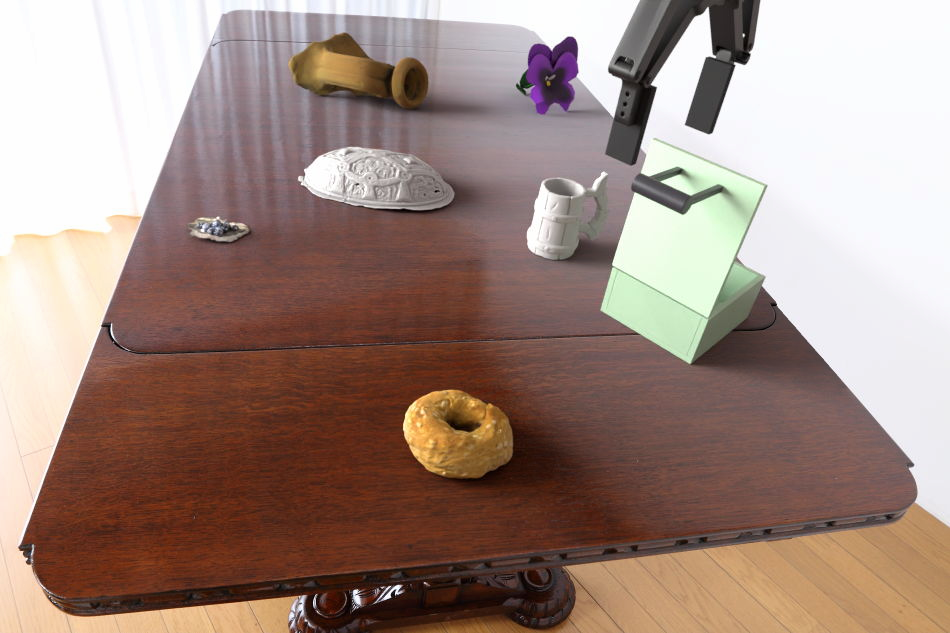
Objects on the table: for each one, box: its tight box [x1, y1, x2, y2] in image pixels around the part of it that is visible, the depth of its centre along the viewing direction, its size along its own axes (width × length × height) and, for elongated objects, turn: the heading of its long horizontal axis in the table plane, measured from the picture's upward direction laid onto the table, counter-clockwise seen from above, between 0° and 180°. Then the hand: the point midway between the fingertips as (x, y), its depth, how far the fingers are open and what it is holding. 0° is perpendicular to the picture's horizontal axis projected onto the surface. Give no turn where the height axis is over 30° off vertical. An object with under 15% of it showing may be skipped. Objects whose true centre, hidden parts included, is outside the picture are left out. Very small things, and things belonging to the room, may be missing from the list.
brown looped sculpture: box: [288, 31, 429, 110], centre depth 137 cm, size 18×13×22 cm
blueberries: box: [187, 216, 251, 243], centre depth 93 cm, size 7×8×2 cm
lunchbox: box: [600, 260, 766, 365], centre depth 89 cm, size 16×14×7 cm
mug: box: [526, 171, 610, 261], centre depth 98 cm, size 8×12×12 cm, turn 106°
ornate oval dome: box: [297, 146, 455, 211], centre depth 108 cm, size 16×25×7 cm, turn 84°
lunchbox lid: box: [612, 137, 769, 318], centre depth 74 cm, size 16×14×10 cm
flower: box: [515, 36, 580, 115], centre depth 149 cm, size 15×15×14 cm
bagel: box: [402, 389, 514, 480], centre depth 66 cm, size 10×11×5 cm
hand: (661, 143), depth 62 cm, fingers open, 13 cm apart
